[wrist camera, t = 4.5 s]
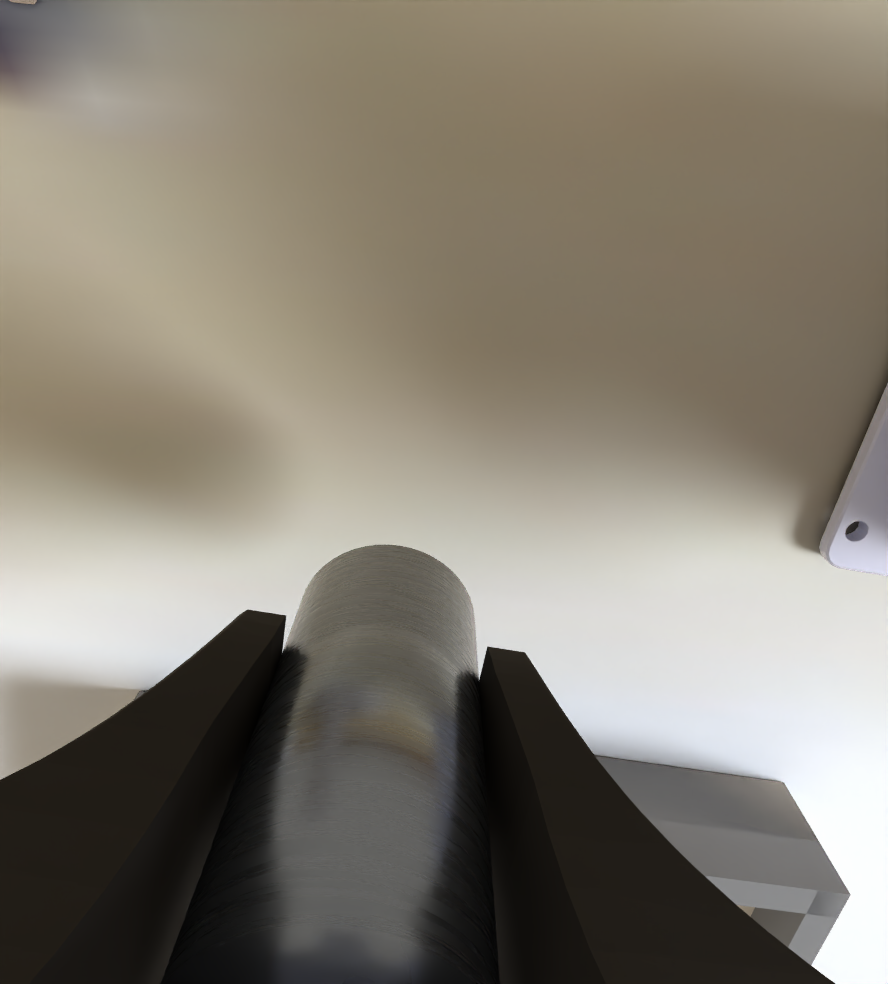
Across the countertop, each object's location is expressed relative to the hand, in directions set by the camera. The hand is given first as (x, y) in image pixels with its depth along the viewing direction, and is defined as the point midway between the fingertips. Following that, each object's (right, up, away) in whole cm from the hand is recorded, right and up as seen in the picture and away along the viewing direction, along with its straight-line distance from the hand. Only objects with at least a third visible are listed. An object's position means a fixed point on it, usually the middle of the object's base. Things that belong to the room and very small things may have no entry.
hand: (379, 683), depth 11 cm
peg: (0, +1, +2) cm, 2 cm away
